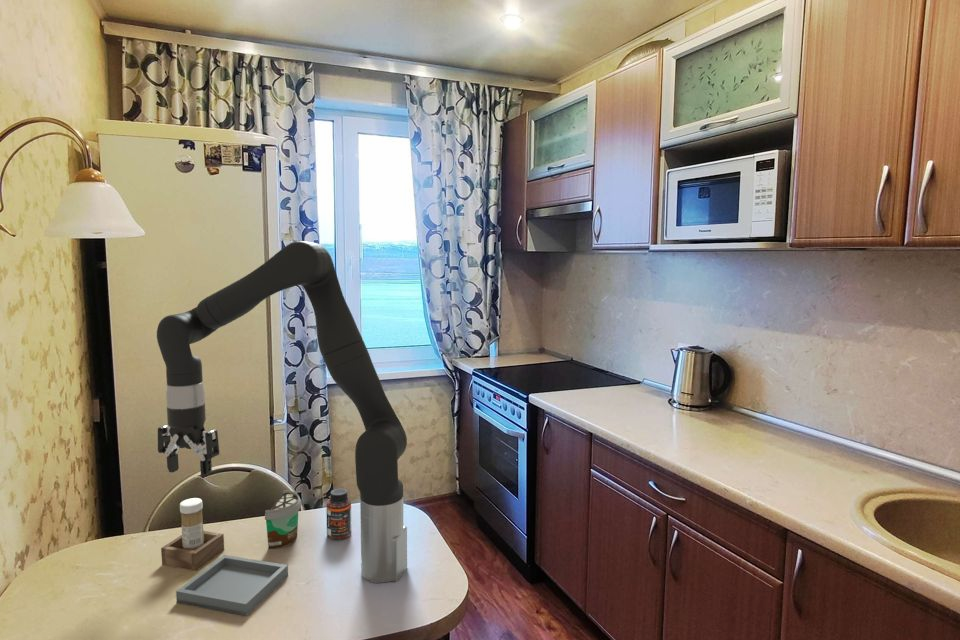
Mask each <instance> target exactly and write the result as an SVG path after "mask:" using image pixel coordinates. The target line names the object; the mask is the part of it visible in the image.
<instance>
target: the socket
mask: <svg viewBox="0 0 960 640" xmlns="http://www.w3.org/2000/svg"><path fill="white" fill-rule="evenodd" d="M224 538H225V537H224V533H220V532H213V531H206V530H204V545H202V546H201V547H200V548H198V549H197V550H195V551H193V550H187V549H183V543H182V534H181V535H180V536H178V537H176V538H175V539H173V540H171V541H170V542H168V543H167V544H165V545H163V546H162V547H160V554H161V566H166V567H172V568H178V569H182V570H187V571H188V570H189V571H193V572H194V571H195V572H197V571H198V570H199V569H201V568H203V567H204V566H205V565H206V564H208V563H209V562H210V561H212V560H213V559H215V558H216V557H217V556H218V555H220V554H222V552H224V551H225V539H224Z"/></svg>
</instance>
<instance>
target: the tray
mask: <svg viewBox="0 0 960 640" xmlns="http://www.w3.org/2000/svg"><path fill="white" fill-rule="evenodd" d="M288 577H289V565H287V564H282V563H276V562H271V561H265V560H257V559H252V558H246V557H239V556H234V555H227V554H223V555H222V556H221V557H220V558H218V559H217V560H216V561H214V562H213V563H212V564H210V565H209V566H207V567H206V568H204V570H202V571H201V572H199V573H198V574H197V575H195V576H194V577H193V578H191V579H190V580H189V581H188V582H186V583H185V584H184V585H182V586H181V587H179V588H178V589H177V590H175V600H176V604H181V605H187V606H191V607H196V608H202V609H206V610H211V611H218V612H223V613H227V614H233V615H238V616H242V617H243V616H244V617H247V616H249V614H250V613H252V612H253V610H255V609H256V608H257V607H258V606H259V605H260V603H262V602H263V601H264V600H265V599H266V598H267V597H268V596H269V595H270V594H271V593H273V592H274V590H275V589H276V588H277V587H278V586H279V585H281V584H282V582H284V581H285V580H286V579H287V578H288Z"/></svg>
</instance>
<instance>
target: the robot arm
mask: <svg viewBox="0 0 960 640" xmlns="http://www.w3.org/2000/svg"><path fill="white" fill-rule="evenodd" d="M333 261H334V260H333V258H332V255H331V254H330V253H329V251H328V249H326V247H324V246H323V245H321V244H319V243H317V242H312V241H306V240H296V241H293V242H290V243H289V244H286V245H285V246H284V247H283V248H281V249H280V250H279V251H278V252H276V253H275V254H274V255H273V256H271V257H270V258H269V259H268V260H266V261H265V262H264V263H262V264H261V265H260V266H258V267H257V268H255V269H254V270H252V271H251V272H250V273H249V274H246V275H245V276H243V277H242V278H239V279H237V280H236V281H234V282H232V283H231V284H229V285H227V286H225V287H223V288H221V289H219V290H217V291H216V292H214V293H212V294H210V295H209V296H206V297H205V298H203V299H202V300H201V301H199V303H198V304H197V306H196V307H194V308H192V309H191V310H188V311H185V312H181V313H175V314H169V315H166V316H164V317H163V318H162V319H161V320H160V321H159V323H158V324H157V325H158V326H157V328H156V340H157V345H158V347H159V350H160V353H161V356H162V359H163V362H164V364H165V371H166V372H165V373H166V375H165V376H166V393H165V395H166V398H165V399H166V414H167V415H166V417H167V424H166V425H162V426H159V427H158V428H157V452H158V453H159V454H164V456H165V457H166V467H167V470H168V472H169V473H172V474H173V473H175V472H177V471H179V467H180V466H179V454H178V451H179V450H180V449H187V450H191V451H192V452H193V453H194V454H197V456H198V458H199V459H200V461H199V463H200V465H199V467H200V476H201V477H208V475H210V474H211V472H212V469H213V468H212V459H213V458H215V457H218V456H219V455H220V446H219V445H220V444H219V435H218V434H219V433H218V430H217V429H215V428H213V429H212V430H206V429H205V426H204V425H205V422H206V420H207V417H206V395H205V387H204V381H203V378H204V377H203V364H202V360H201V358H200V357H199V356H197V355H193V353H192V350H191V346H190V345H191V344H195V343H197V342H200V341H202V340H203V339H205V338H207V337H209V336H210V335H211V334H213V333H214V332H216V331H217V330H218V329H220V328H222V327H224V326H226V325H229V324H230V323H232V322H234V321H236V320H237V319H239V318H241V317H243V316H245V315H246V314H248V313H249V312H251V310H253V309H254V308H256V307H257V306H258V305H259V304H260V303H262V302H263V301H265V300H266V299H267V298H270V297H271V296H272V295H274V294H277V293H278V292H281V291H285V290H287V289H290V288H293V287H297V286H302V287H303V290H304V291H305V293H306V296H307V297H308V299H309V301H310V304H311V307H312V308H313V309H312V310H313V313H314V316H315V319H314V320H315V327H316V337H317V343H318V344H317V345H318V348H319V351H320V354H321V356H322V359H323V363H324V365H325V366H326V369H327V370H328V373H329V375H330V377H331V379H332V380H333V381H334V383H335V384H336V385H337V387H339V388H340V390H341V391H343V393H344V394H345V395H346V396H347V397H348V398H349V400H351V401H352V403H353V404H354V405H355V408H356V409H357V411H358V413H359V416H360V418H361V421H362V423H363V426H364V430H365V431H364V432H363V433H361V435H360V436H359V437H358V439H357V441H356V445H355V453H354V457H355V458H354V460H355V461H354V462H355V476H356V477H355V478H356V480H355V481H356V486H357V489H358V491H359V498H360V501H359V502H360V503H359V504H360V505H359V506H360V557H361V558H360V560H361V562H360V568H361V576H362V578H363V579H365V580H366V581H369V582H371V583H376V584H377V583H380V584H381V583H387V582H388V583H389V582H397V581H399V579H400V578H401V577H402V575H403V574H404V572H405V570H406V569H407V568H408V527H407V526H405V525H404V524H405V523H404V484H403V482H402V481H401V480H400V479H399V469H398V461H399V459H400V458H401V457H402V456H403V454H404V453H405V451H406V449H407V444H408V438H407V434H406V431H405V429H404V427H403V425H402V423H401V421H400V419H399V418H398V415H397V414H396V412H395V411H394V410H395V409H394V408H393V406H392V404H391V403H390V401H389V399H388V396H387V395H386V393H385V390H384V388H383V386H382V383H381V380H380V377H379V376H378V375H379V374H378V373H377V370H376V368H375V365H374V363H373V361H372V358H371V355H370V353H369V350H368V347H367V346H366V344H365V342H364V339H363V336H362V334H361V333H360V330H359V329H358V326H357V323H356V321H355V318H354V317H353V314H352V312H351V310H350V308H349V306H348V304H347V301H346V299H345V297H344V294H343V291H342V288H341V285H340V281H339V278H338V275H337V271H336V268H335V265H334V262H333ZM171 438H172V439H171ZM199 445H200V446H199Z"/></svg>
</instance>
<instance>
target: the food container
mask: <svg viewBox="0 0 960 640" xmlns="http://www.w3.org/2000/svg"><path fill="white" fill-rule="evenodd" d="M301 501H302V500H301V498H300V496H299V494H298V493H297V492H295V491H292V490H287V489H284V490H282V495H281V496H280V497H279V498H278V499H277V500H276V501H275V502H274V503H273V504H272V506H271V508H269V509H266V510H264V511H265V513H264V520H265V522H266V523H265V524H266V537H267V546H268V547H267V548H268V549H269V550H271V549H273V550H274V549H280V548H283V547H286V546H289V545H291V544H292V543H294V542H295V541H296V540H297V538H298V532H299V531H298V529H299V528H298V527H299V510H300V509H301V507H302V502H301Z"/></svg>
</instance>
